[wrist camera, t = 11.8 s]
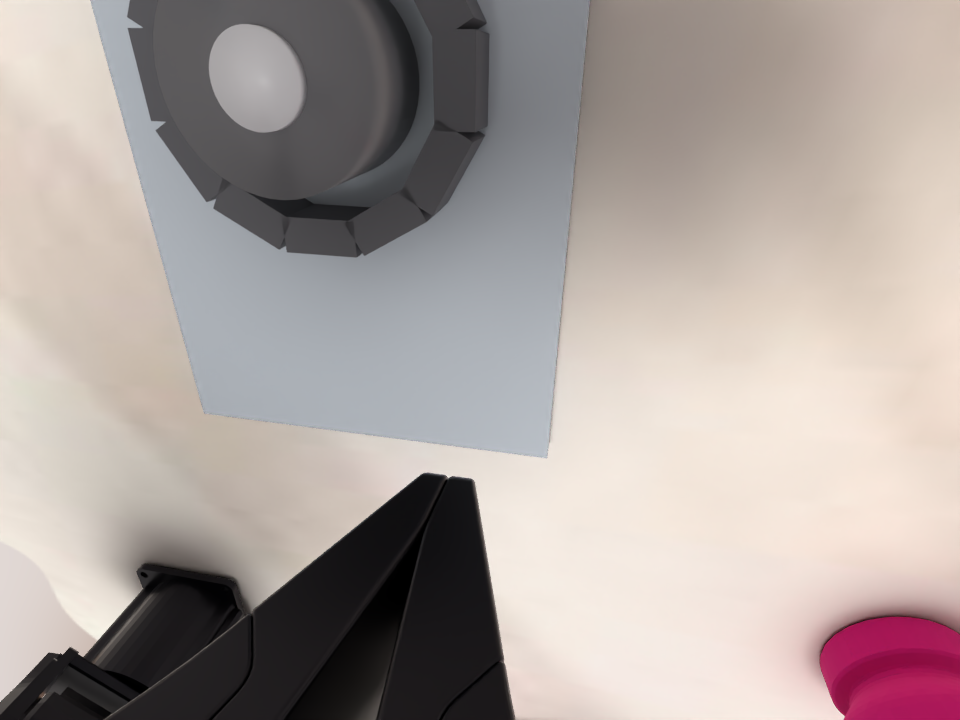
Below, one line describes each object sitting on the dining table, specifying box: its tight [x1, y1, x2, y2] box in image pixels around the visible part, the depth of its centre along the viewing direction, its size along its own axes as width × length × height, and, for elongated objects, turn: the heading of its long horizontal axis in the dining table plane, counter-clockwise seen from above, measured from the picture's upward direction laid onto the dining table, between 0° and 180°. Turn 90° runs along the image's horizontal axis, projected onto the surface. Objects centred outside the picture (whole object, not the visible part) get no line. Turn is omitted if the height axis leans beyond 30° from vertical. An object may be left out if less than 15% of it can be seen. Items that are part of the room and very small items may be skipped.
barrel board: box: [90, 0, 590, 458], centre depth 19 cm, size 16×20×3 cm
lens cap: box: [153, 0, 419, 200], centre depth 15 cm, size 6×6×4 cm
